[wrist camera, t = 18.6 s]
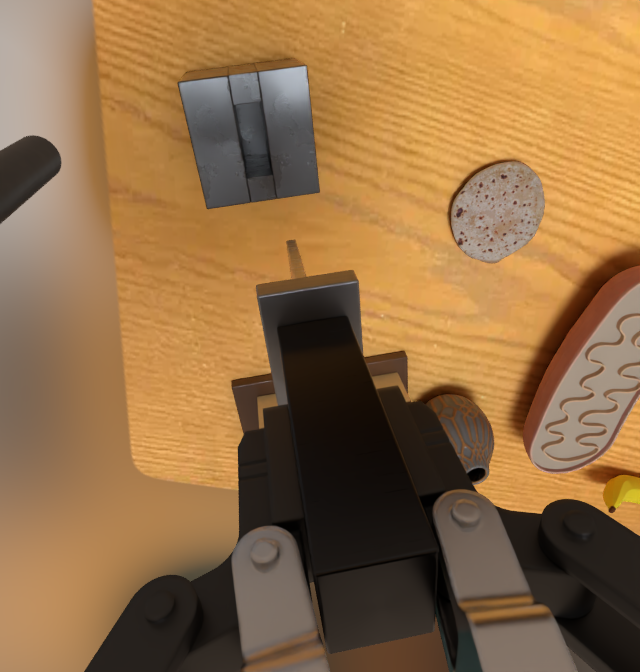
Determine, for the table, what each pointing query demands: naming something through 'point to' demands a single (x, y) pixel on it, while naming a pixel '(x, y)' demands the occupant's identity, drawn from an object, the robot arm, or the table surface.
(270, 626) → the robot arm
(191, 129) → the knife block
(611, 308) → the mitochondrion model
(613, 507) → the banana
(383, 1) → the table surface
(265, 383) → the cake board
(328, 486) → the knife
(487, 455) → the vase
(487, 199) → the flatbread
